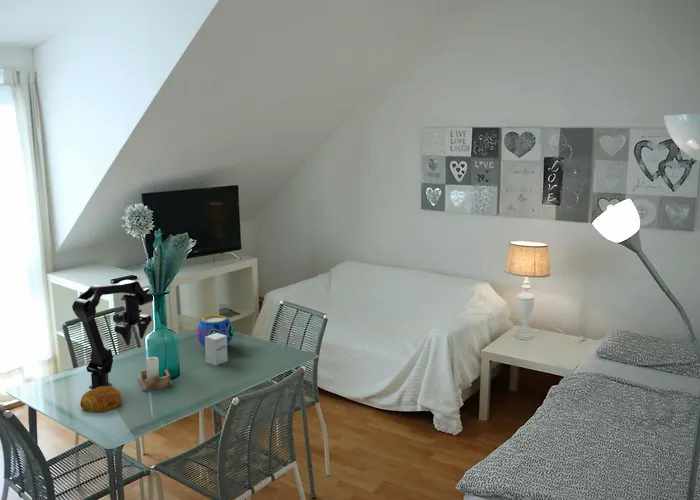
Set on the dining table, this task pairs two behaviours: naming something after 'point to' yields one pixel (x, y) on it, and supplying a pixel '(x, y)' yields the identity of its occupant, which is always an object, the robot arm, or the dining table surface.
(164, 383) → the cradle
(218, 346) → the supplement box
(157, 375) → the paper roll
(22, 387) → the dining table surface
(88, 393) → the croissant
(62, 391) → the dining table surface
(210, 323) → the ceramic pot
